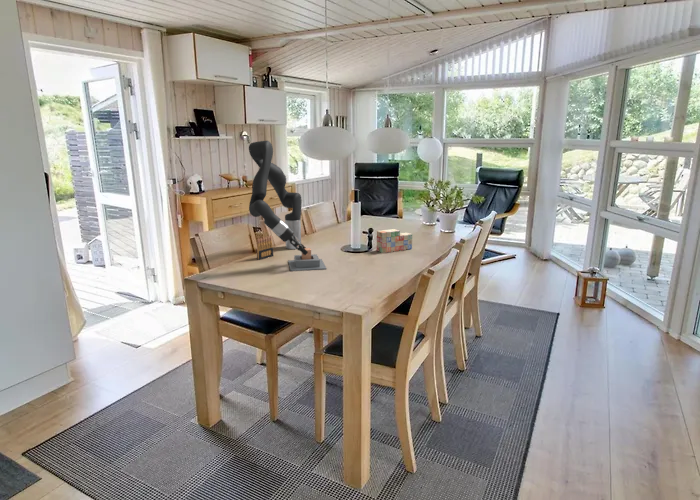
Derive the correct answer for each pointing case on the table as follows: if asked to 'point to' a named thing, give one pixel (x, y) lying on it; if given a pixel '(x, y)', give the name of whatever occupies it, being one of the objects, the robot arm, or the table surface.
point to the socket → (306, 263)
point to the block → (308, 255)
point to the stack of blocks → (393, 241)
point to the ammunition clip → (264, 248)
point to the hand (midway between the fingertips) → (305, 251)
